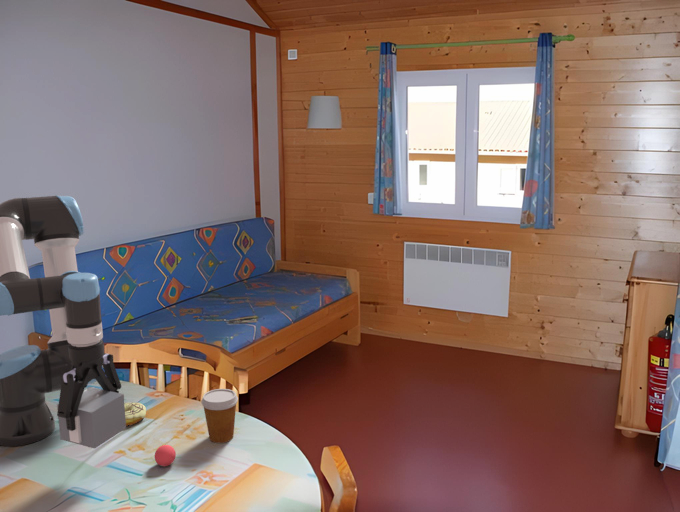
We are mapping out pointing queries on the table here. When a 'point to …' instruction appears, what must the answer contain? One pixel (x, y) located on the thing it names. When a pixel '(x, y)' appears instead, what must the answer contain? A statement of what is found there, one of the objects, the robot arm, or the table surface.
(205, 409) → the disposable coffee cup
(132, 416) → the decorated donut
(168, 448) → the ball
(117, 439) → the table surface
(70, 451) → the table surface
